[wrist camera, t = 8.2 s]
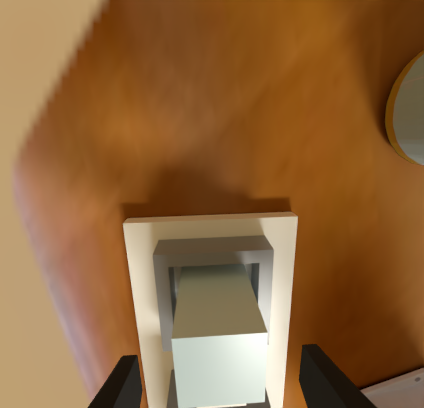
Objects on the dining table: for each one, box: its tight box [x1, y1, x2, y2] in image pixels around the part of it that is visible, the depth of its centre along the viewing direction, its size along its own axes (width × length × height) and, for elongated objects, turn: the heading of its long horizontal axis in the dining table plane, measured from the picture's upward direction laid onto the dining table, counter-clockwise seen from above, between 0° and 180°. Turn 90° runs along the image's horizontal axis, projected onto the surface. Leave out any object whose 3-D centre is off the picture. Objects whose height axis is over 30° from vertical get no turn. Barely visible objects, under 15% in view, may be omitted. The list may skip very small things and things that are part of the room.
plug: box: [171, 264, 268, 408], centre depth 13 cm, size 5×4×6 cm
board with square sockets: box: [123, 212, 298, 408], centre depth 16 cm, size 20×11×5 cm, turn 1°
